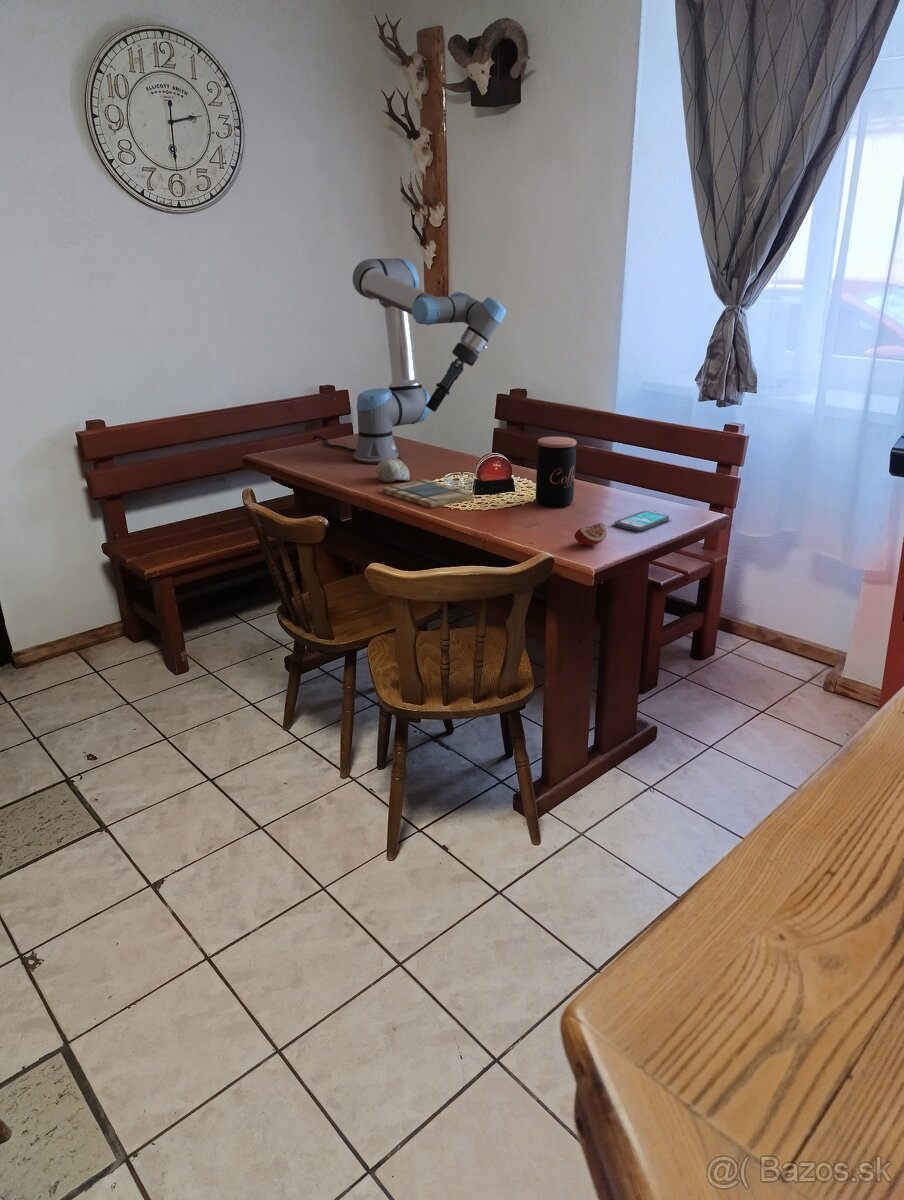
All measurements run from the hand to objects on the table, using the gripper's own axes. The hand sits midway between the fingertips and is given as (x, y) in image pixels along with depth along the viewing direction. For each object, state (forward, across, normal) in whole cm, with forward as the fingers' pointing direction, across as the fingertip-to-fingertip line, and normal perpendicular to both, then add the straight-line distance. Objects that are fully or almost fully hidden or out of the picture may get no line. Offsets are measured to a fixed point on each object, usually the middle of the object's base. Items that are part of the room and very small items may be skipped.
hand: (430, 409), depth 247 cm
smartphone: (-7, -39, -65) cm, 76 cm away
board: (+21, -13, -14) cm, 28 cm away
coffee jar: (+2, -21, -45) cm, 50 cm away
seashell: (+25, +3, -2) cm, 25 cm away
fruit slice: (+5, -56, -53) cm, 78 cm away
